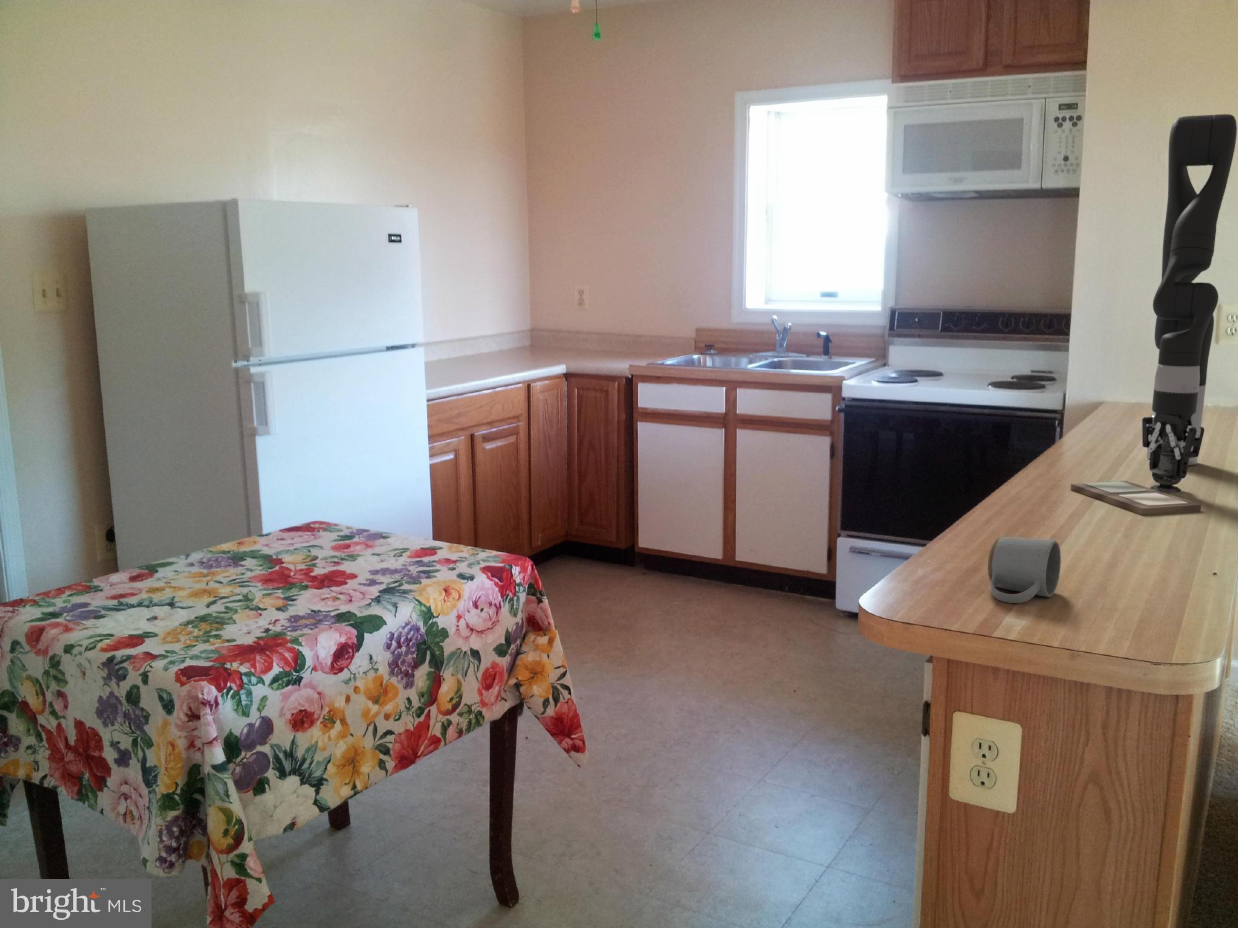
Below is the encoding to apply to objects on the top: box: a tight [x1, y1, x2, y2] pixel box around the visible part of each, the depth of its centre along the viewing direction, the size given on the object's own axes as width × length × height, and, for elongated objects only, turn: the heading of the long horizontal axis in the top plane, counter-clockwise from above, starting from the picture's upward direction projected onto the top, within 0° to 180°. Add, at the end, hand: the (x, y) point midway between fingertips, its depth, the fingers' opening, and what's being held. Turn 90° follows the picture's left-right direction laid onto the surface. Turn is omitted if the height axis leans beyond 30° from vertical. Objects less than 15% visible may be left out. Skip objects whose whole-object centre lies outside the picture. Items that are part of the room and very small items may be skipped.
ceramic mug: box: [987, 536, 1062, 604], centre depth 140 cm, size 11×8×8 cm
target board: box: [1070, 480, 1202, 516], centre depth 191 cm, size 20×12×1 cm, turn 12°
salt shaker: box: [1150, 435, 1183, 494], centre depth 198 cm, size 6×6×12 cm
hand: (1167, 474), depth 199 cm, fingers closed on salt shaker, 6 cm apart
